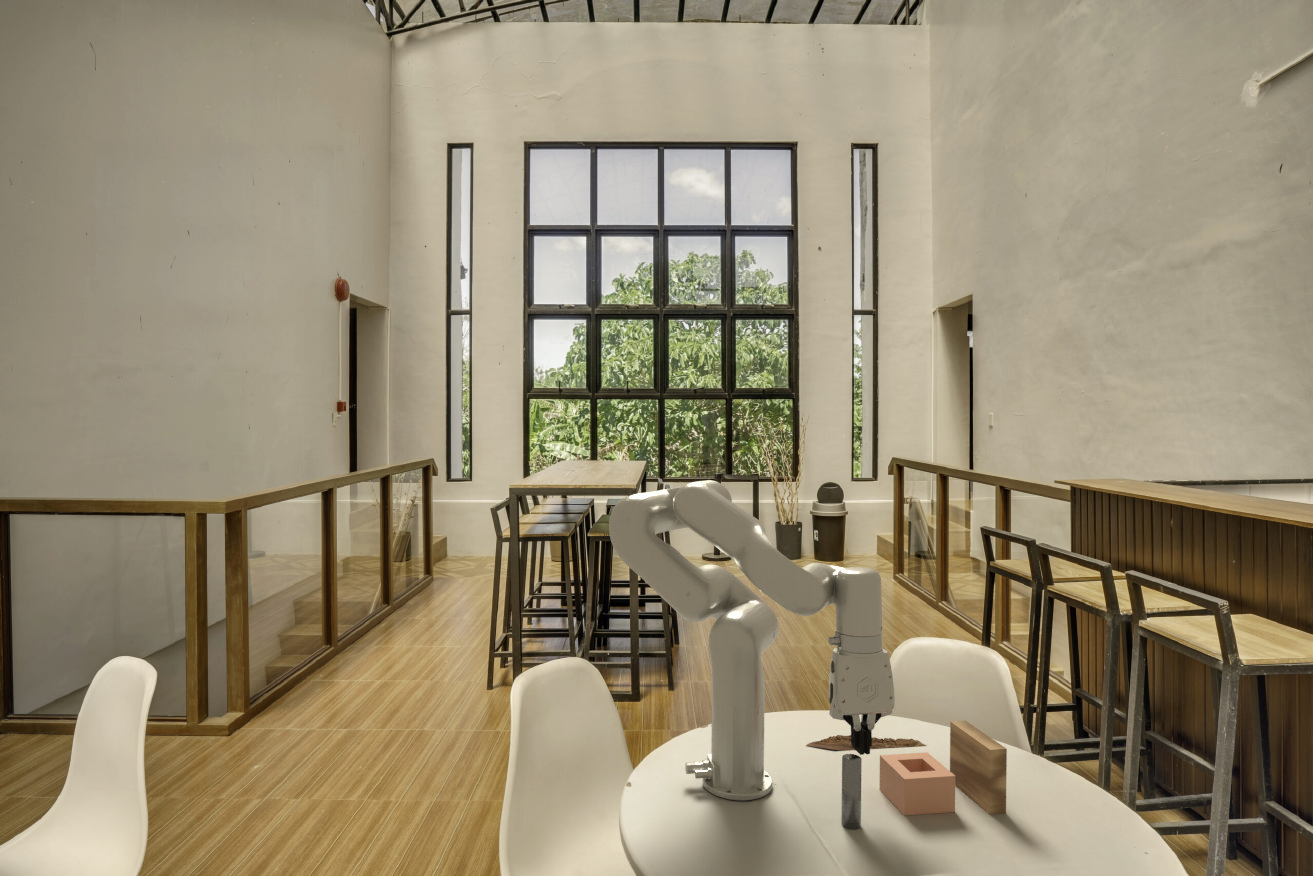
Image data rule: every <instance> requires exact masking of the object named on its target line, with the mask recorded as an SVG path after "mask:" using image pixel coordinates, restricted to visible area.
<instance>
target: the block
mask: <svg viewBox="0 0 1313 876" xmlns="http://www.w3.org/2000/svg"><path fill="white" fill-rule="evenodd" d="M878 788H879V790H880V792H882V794H883V795H884V796H885V797H886V798H887V799H888V800H889V801H890V803H892V804H893V805H894V807H895V808H896V809H897V810H898V811H899V812H900V813H901V814H902V815H903V816H916V815H928V814H929V815H930V814H932V815H934V814H944V813H945V814H946V813H955V812H956V786H955V775H954V774H953V773H951V772H950V769H948V768H947V767H945V765H944V764H942V763H941V762H940V761H938V760H937V759H936V758H935V757H934V756H932V755H931V754H930V753H929V752H913V753H912V752H911V753H896V754H895V753H894V754H880V755H879V787H878Z"/></svg>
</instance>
